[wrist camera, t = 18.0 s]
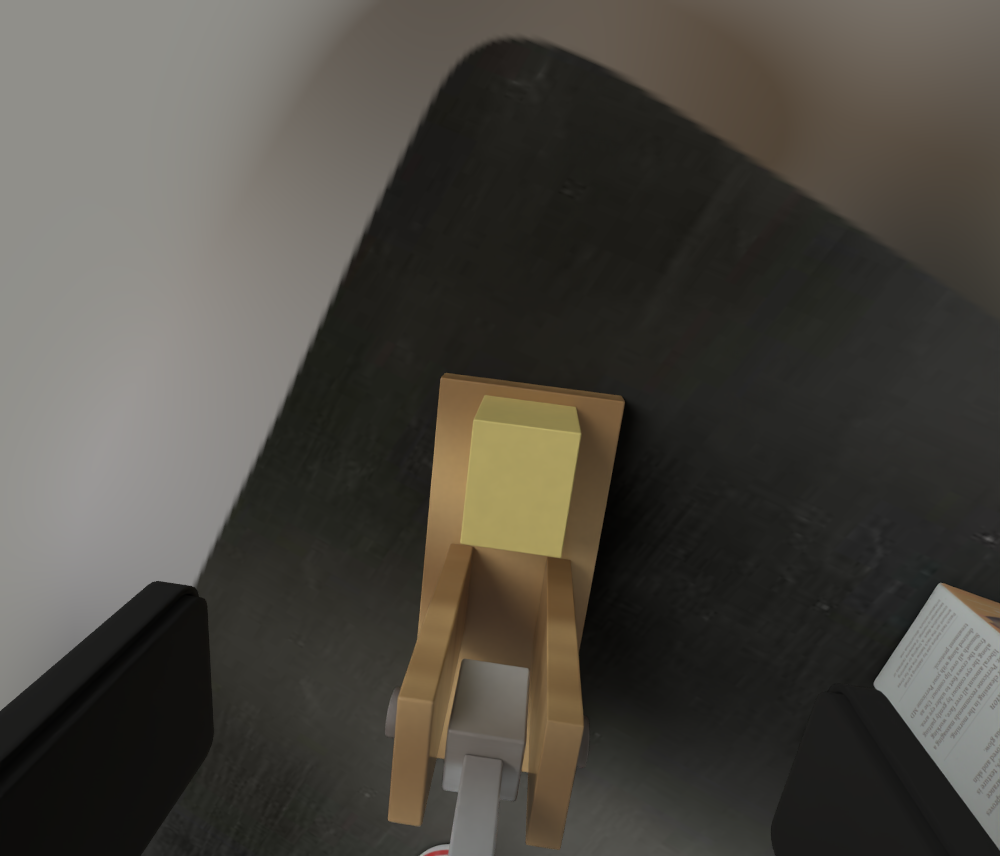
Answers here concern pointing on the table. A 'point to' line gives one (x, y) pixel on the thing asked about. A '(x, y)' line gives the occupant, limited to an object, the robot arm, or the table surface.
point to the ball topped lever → (484, 750)
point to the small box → (954, 694)
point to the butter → (520, 476)
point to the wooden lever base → (503, 611)
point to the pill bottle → (437, 851)
